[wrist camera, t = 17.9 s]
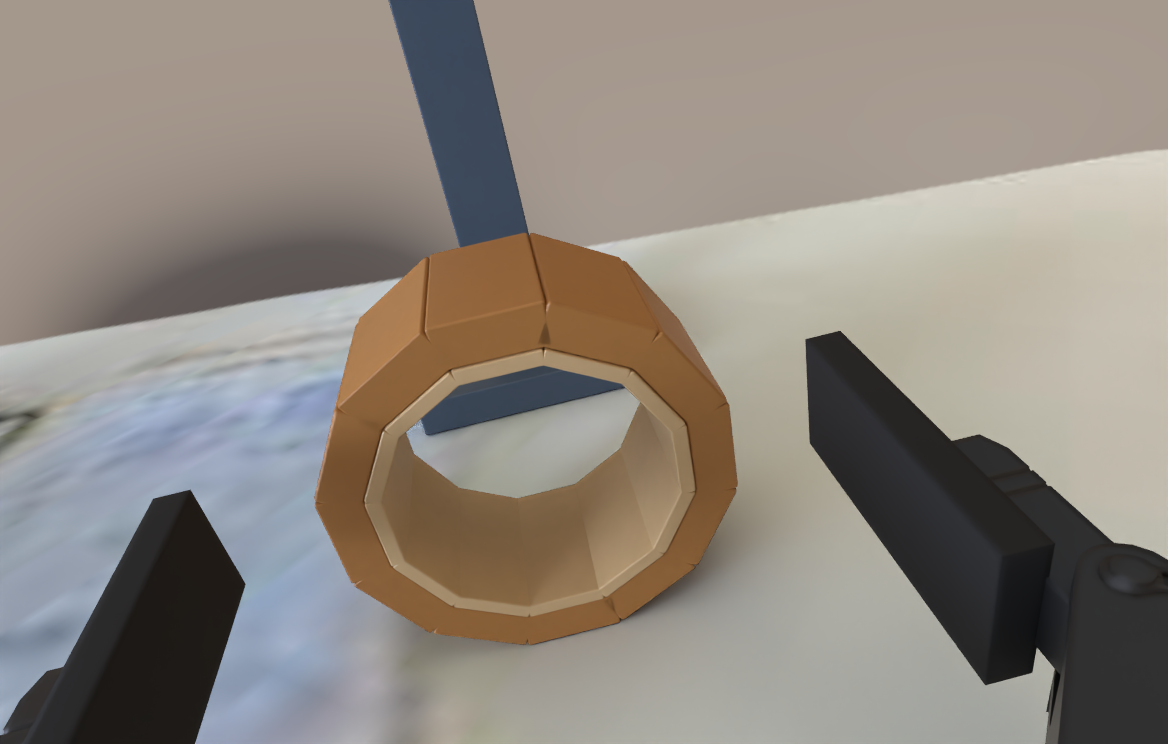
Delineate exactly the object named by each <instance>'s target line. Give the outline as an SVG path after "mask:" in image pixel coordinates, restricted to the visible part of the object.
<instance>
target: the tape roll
mask: <svg viewBox="0 0 1168 744" xmlns="http://www.w3.org/2000/svg"><path fill="white" fill-rule="evenodd" d="M539 366H547V367H552V368H556V369H560V370H565V371H569V372H573V373H577V374H582V375H586V376H590V377H595V378H599V379H603V380H607V381H612V382H616V383H620V384H622V385H623V386H624V387H625V388H626V389H628V390H629V391H630V392H631V393H632V394H633V395H634V396H635V397H636V398H637V399H638V400H639V401H640V404H639V406H638V408H637V411H636V413H635V415H634V418H633V420H632V422H631V425H630V427H629V429H628V432H627V434H626V436H625V439H624V441H623V443H622V446H621V448H620V449H619V450H618V451H617V452H615V453H614V454H613V455H611V456H610V457H609V458H608V459H606V460H605V461H604V462H603V463H601V464H600V465H599V466H598V467H596V468H595V469H594V470H593V471H591V472H590V473H589V474H587V475H586V476H585V477H584V478H582V479H581V480H580V481H579V482H577V483H576V484H574V485H570V486H566V487H562V488H558V489H554V490H550V491H546V492H542V493H538V494H534V495H530V496H525V497H521V498H512V497H506V496H501V495H495V494H490V493H484V492H478V491H473V490H467V489H462V488H458V487H457V486H456V485H454V484H453V483H452V482H450V481H449V480H448V479H446V478H445V477H444V476H442V475H441V474H440V473H439V472H437V471H436V470H435V469H433V468H432V467H431V466H429V465H428V464H427V463H425V462H424V461H423V460H421V459H420V458H419V457H417V456H416V455H415V454H414V453H413V450H412V447H411V445H410V442H409V439H408V437H407V434H406V431H408V430H409V429H410V428H411V427H412V426H413V425H415V424H416V423H417V422H418V421H419V420H420V419H421V418H423V417H424V416H425V415H426V414H427V413H428V412H429V411H431V410H432V409H433V408H434V407H435V406H436V405H438V404H439V403H440V402H441V401H442V400H443V399H444V398H446V397H447V396H448V395H449V394H450V393H451V392H452V391H454V390H455V389H456V388H457V387H458V386H460V385H464V384H468V383H472V382H476V381H481V380H485V379H489V378H493V377H497V376H502V375H506V374H510V373H514V372H518V371H522V370H527V369H531V368H535V367H539ZM737 484H738V483H737V473H736V464H735V455H734V445H733V436H732V427H731V417H730V408H729V404H728V402H727V400H726V397H725V395H724V394H723V392H722V390H721V389H720V387H719V385H718V384H717V382H716V380H715V379H714V377H713V375H712V374H711V372H710V370H709V369H708V367H707V365H706V364H705V362H704V361H703V359H702V357H701V356H700V354H699V352H698V351H697V349H696V347H695V346H694V344H693V342H692V341H691V339H690V337H689V336H688V334H687V332H686V331H685V329H684V327H683V326H682V324H681V322H680V321H679V319H678V318H677V317H676V316H675V315H674V314H673V313H672V312H671V311H670V309H669V308H668V307H667V306H666V305H665V304H664V303H663V302H662V301H661V300H660V298H659V297H658V296H657V295H656V294H655V293H654V292H653V291H652V290H651V289H650V288H649V286H648V285H647V284H646V283H645V282H644V281H643V280H642V279H641V278H640V277H639V275H638V274H637V273H636V272H635V271H634V270H633V269H632V268H631V267H630V266H629V264H628V263H627V262H625V261H621V259H620V258H619V257H615V256H612V255H608V254H605V253H601V252H598V251H594V250H591V249H587V248H584V247H580V246H577V245H573V244H570V243H566V242H562V241H559V240H555V239H552V238H548V237H545V236H541V235H538V234H534V233H531V234H530V235H529V237H528V235H527V233H521V234H516V235H512V236H508V237H504V238H499V239H495V240H491V241H486V242H482V243H478V244H474V245H469V246H465V247H461V248H456V249H452V250H448V251H444V252H439V253H435V254H432V255H430V259H429V258H428V257H425V258H424V259H423V260H422V261H421V262H420V263H419V264H418V265H416V266H415V267H414V268H413V269H412V270H411V271H410V272H409V273H408V274H407V275H406V276H405V277H404V278H402V279H401V280H400V281H399V282H398V283H397V284H396V285H395V286H394V287H393V288H392V289H391V290H390V291H389V292H387V293H386V294H385V295H384V296H383V297H382V298H381V299H380V300H379V301H378V302H377V303H376V304H375V305H374V306H372V307H371V308H370V309H369V310H368V311H367V312H366V313H365V314H364V315H363V316H362V317H361V318H360V319H359V322H358V324H357V325H356V327H355V331H354V335H353V339H352V343H351V346H350V350H349V354H348V358H347V362H346V366H345V370H344V374H343V378H342V382H341V386H340V390H339V394H338V398H337V402H336V405H335V409H334V414H333V418H332V422H331V427H330V431H329V435H328V440H327V444H326V449H325V453H324V457H323V462H322V466H321V470H320V475H319V479H318V484H317V488H316V492H315V497H314V499H315V501H316V502H315V508H316V510H317V512H318V514H319V516H320V518H321V520H322V522H323V524H324V526H325V529H326V531H327V533H328V535H329V537H330V539H331V541H332V543H333V545H334V547H335V549H336V551H337V553H338V556H339V558H340V560H341V562H342V564H343V566H344V568H345V570H346V572H347V574H348V576H349V578H350V580H351V582H352V583H355V584H354V585H355V587H357V588H358V589H360V590H362V591H363V592H365V593H366V594H368V595H370V596H371V597H373V598H374V599H376V600H378V601H379V602H381V603H383V604H384V605H386V606H387V607H389V608H391V609H392V610H394V611H395V612H397V613H399V614H400V615H402V616H404V617H405V618H407V619H408V620H410V621H412V622H413V623H415V624H416V625H418V626H420V627H421V628H423V629H425V630H426V631H428V632H432V631H433V630H434V633H435V634H441V635H449V636H457V637H466V638H474V639H482V640H490V641H498V642H506V643H515V644H523V645H524V644H526V643H527V640H528V643H529V645H532V644H536V643H540V642H544V641H548V640H552V639H556V638H560V637H564V636H568V635H571V634H575V633H579V632H583V631H587V630H591V629H595V628H599V627H603V626H607V625H611V624H615V623H619V622H620V618H621V619H625V618H627V617H628V616H629V615H631V614H632V613H634V612H635V611H636V610H638V609H639V608H640V607H642V606H643V605H645V604H646V603H647V602H649V601H650V600H652V599H653V598H654V597H656V596H657V595H658V594H660V593H661V592H663V591H664V590H665V589H667V588H668V587H669V586H671V585H672V584H674V583H675V582H676V581H678V580H679V579H680V578H682V577H683V576H685V575H686V574H687V573H689V572H690V571H692V570H693V569H694V568H695V566H694V564H695V565H697V564H699V562H700V560H701V558H702V556H703V554H704V552H705V551H706V549H707V547H708V545H709V543H710V541H711V539H712V537H713V535H714V533H715V531H716V530H717V528H718V526H719V524H720V522H721V520H722V518H723V516H724V514H725V512H726V511H727V509H728V507H729V505H730V503H731V501H732V499H733V497H734V495H735V493H736V487H737ZM619 617H620V618H619Z"/></svg>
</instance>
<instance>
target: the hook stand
mask: <svg viewBox="0 0 1168 744" xmlns="http://www.w3.org/2000/svg"><path fill="white" fill-rule="evenodd" d="M389 4H390V8H391V11H392V14H393V18H394V21H395V25H396V28H397V32H398V35H399V39H400V42H401V46H402V49H403V52H404V56H405V59H406V63H407V66H408V70H409V73H410V77H411V80H412V84H413V87H414V91H415V94H416V97H417V101H418V104H419V107H420V111H421V115H422V118H423V122H424V125H425V128H426V132H427V135H428V139H429V142H430V146H431V149H432V153H433V156H434V160H435V163H436V167H437V170H438V173H439V177H440V180H441V184H442V187H443V191H444V194H445V198H446V201H447V205H448V208H449V211H450V215H451V218H452V222H453V225H454V229H455V232H456V235H457V239H458V243H459V246H460V248H461V247H465V246H469V245H474V244H478V243H482V242H486V241H491V240H495V239H499V238H504V237H508V236H512V235H516V234H521V233H527V235H528V237H529V233H528V229H527V224H526V220H525V216H524V212H523V208H522V203H521V199H520V195H519V191H518V186H517V182H516V178H515V174H514V170H513V165H512V161H511V157H510V153H509V149H508V144H507V140H506V136H505V132H504V128H503V123H502V119H501V116H500V111H499V106H498V102H497V98H496V94H495V90H494V85H493V81H492V77H491V73H490V69H489V64H488V60H487V56H486V52H485V48H484V43H483V39H482V35H481V31H480V27H479V22H478V18H477V14H476V10H475V5H474V1H473V0H389ZM623 387H624V386H623V385H622V384H620V383H616V382H612V381H607V380H603V379H599V378H595V377H590V376H586V375H582V374H577V373H573V372H569V371H565V370H560V369H556V368H552V367H547V366H539V367H535V368H531V369H527V370H522V371H518V372H514V373H510V374H506V375H502V376H497V377H493V378H489V379H485V380H481V381H476V382H472V383H468V384H464V385H460V386H458V387H457V388H456V389H455V390H454V391H452V392H451V393H450V394H449V395H448V396H447V397H446V398H444V399H443V400H442V401H441V402H440V403H439V404H438V405H436V406H435V407H434V408H433V409H432V410H431V411H429V412H428V413H427V414H426V415H425V416H424V417H423V418H421V421H422V424H423V427H424V430H425V432H426V434H427V435H430V434H434V433H438V432H442V431H446V430H450V429H454V428H459V427H463V426H467V425H471V424H475V423H479V422H483V421H487V420H491V419H495V418H500V417H504V416H508V415H512V414H516V413H520V412H524V411H528V410H532V409H536V408H541V407H545V406H549V405H553V404H557V403H561V402H565V401H569V400H573V399H578V398H582V397H586V396H590V395H594V394H598V393H602V392H606V391H610V390H614V389H619V388H623Z"/></svg>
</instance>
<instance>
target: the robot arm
mask: <svg viewBox="0 0 1168 744" xmlns="http://www.w3.org/2000/svg"><path fill="white" fill-rule="evenodd" d="M805 341H806V364H807V388H808V411H809V434H810V444H811V445H812V447H813V448H814V449H815V451H816V452H817V454H818V455H819V456H820V458H821V459H822V460H823V462H824V463H825V465H826V466H827V467H828V469H829V470H830V471H831V473H832V474H833V476H834V477H835V478H836V480H837V481H838V483H839V484H840V485H841V487H842V488H843V489H844V491H845V492H846V494H847V495H848V496H849V498H850V499H851V500H852V502H853V503H854V505H855V506H856V507H857V509H858V510H859V512H860V513H861V514H862V516H863V517H864V518H865V520H866V521H867V523H868V524H869V525H870V527H871V528H872V529H873V531H874V532H875V534H876V535H877V536H878V538H879V539H880V541H881V542H882V543H883V545H884V546H885V547H886V549H887V550H888V552H889V553H890V554H891V556H892V557H893V558H894V560H895V561H896V563H897V564H898V565H899V567H900V568H901V570H902V571H903V572H904V574H905V575H906V576H907V578H908V579H909V581H910V582H911V583H912V585H913V586H914V587H915V589H916V590H917V592H918V593H919V594H920V596H921V597H922V599H923V600H924V601H925V603H926V604H927V605H928V607H929V608H930V610H931V611H932V612H933V614H934V615H935V616H936V618H937V619H938V621H939V622H940V623H941V625H942V626H943V628H944V629H945V630H946V632H947V633H948V634H949V636H950V637H951V639H952V640H953V641H954V643H955V644H956V645H957V647H958V648H959V650H960V651H961V652H962V654H963V655H964V657H965V658H966V659H967V661H968V662H969V663H970V665H971V666H972V668H973V669H974V670H975V672H976V673H977V674H978V676H979V677H980V679H981V680H982V681H983V683H984V684H985V685H988V684H992V683H996V682H999V681H1003V680H1007V679H1011V678H1014V677H1018V676H1022V675H1026V674H1029V673H1032V671H1033V665H1034V660H1035V654H1036V648H1038V649H1039V650H1040V651H1041V653H1042V654H1043V655H1044V656H1045V657H1046V659H1047V660H1048V661H1049V662H1050V663H1051V664H1052V666H1053V667H1054V668H1055V671H1054V676H1053V681H1052V686H1051V691H1050V696H1049V701H1048V706H1047V711H1046V712H1049V716H1048V725H1047V734H1046V743H1045V744H1168V560H1167V559H1165V558H1164V557H1162V556H1160V555H1159V554H1157V553H1155V552H1153V551H1150V550H1147V549H1144V548H1141V547H1137V546H1134V545H1129V544H1118V543H1114V542H1112V541H1111V540H1110V539H1109V538H1108V537H1107V536H1106V535H1104V534H1103V533H1102V532H1101V531H1100V530H1099V529H1098V528H1097V527H1096V526H1094V525H1093V524H1092V523H1091V522H1090V521H1089V520H1088V519H1087V518H1086V517H1084V516H1083V515H1082V514H1081V513H1080V512H1079V511H1078V510H1077V509H1076V508H1074V507H1073V506H1072V505H1071V504H1070V503H1069V502H1068V501H1067V500H1066V499H1064V498H1063V497H1062V496H1061V495H1060V494H1059V493H1058V492H1057V491H1056V490H1054V489H1053V488H1052V487H1051V486H1047V485H1046V481H1044V480H1043V479H1042V478H1041V477H1040V476H1039V475H1038V474H1037V473H1036V472H1034V471H1033V470H1032V471H1030V469H1029V466H1028V465H1027V464H1026V463H1024V462H1023V461H1022V460H1021V459H1020V458H1019V457H1018V456H1017V455H1016V454H1014V453H1013V452H1012V451H1011V450H1010V449H1009V448H1007V447H1005V446H1003V445H1001V444H999V443H997V442H994V441H992V440H990V439H988V438H986V437H984V436H982V435H975V436H971V437H967V438H963V439H959V440H955V441H951V440H950V439H949V438H948V437H947V436H946V435H945V434H944V433H943V432H942V431H941V430H940V429H939V428H938V427H937V426H936V425H935V424H934V423H933V422H932V421H931V420H930V419H929V418H928V417H927V416H926V415H925V414H924V413H923V412H922V411H921V410H920V409H919V408H918V407H917V406H916V405H915V404H914V403H913V402H912V401H911V400H910V399H909V398H908V397H907V396H906V395H904V394H903V393H902V392H901V391H900V390H899V389H898V388H897V387H896V386H895V385H894V384H893V383H892V382H891V381H890V380H889V379H888V378H887V377H886V376H885V375H884V374H883V373H882V372H881V371H880V370H879V369H878V368H877V367H876V366H875V365H874V364H873V363H872V362H871V361H870V360H869V359H868V358H867V357H866V356H865V355H864V354H863V353H862V352H861V351H860V350H859V349H858V348H857V347H856V346H855V345H854V344H853V343H852V342H851V341H850V340H849V339H848V338H847V337H846V336H845V335H844V334H843V333H842V332H841V331H838V332H834V333H829V334H825V335H821V336H817V337H813V338H809V339H805ZM245 585H246V584H245V582H244V581H243V579H242V577H241V575H240V574H239V572H238V570H237V569H236V567H235V565H234V563H233V562H232V560H231V558H230V557H229V555H228V553H227V552H226V550H225V548H224V546H223V545H222V543H221V541H220V540H219V538H218V536H217V534H216V533H215V531H214V529H213V528H212V526H211V524H210V522H209V521H208V519H207V517H206V516H205V514H204V512H203V510H202V509H201V507H200V505H199V504H198V502H197V500H196V498H195V497H194V495H193V493H192V492H191V490H188V491H183V492H179V493H175V494H171V495H167V496H163V497H159V498H155V499H153V500H152V502H151V504H150V506H149V508H148V510H147V512H146V513H145V515H144V517H143V519H142V521H141V523H140V525H139V527H138V528H137V530H136V532H135V534H134V536H133V538H132V540H131V542H130V543H129V545H128V547H127V549H126V551H125V553H124V555H123V557H122V558H121V560H120V562H119V564H118V566H117V568H116V570H115V572H114V573H113V575H112V577H111V579H110V581H109V583H108V585H107V587H106V588H105V590H104V592H103V594H102V596H101V598H100V600H99V602H98V603H97V605H96V607H95V609H94V611H93V613H92V615H91V617H90V618H89V620H88V622H87V624H86V626H85V628H84V630H83V631H82V633H81V635H80V637H79V639H78V641H77V643H76V645H75V646H74V648H73V650H72V652H71V654H70V656H69V658H68V660H67V661H66V663H65V665H64V667H62V668H58V669H54V670H50V671H47V672H46V673H45V674H44V675H43V676H42V677H41V678H40V679H39V680H38V681H37V682H36V683H35V685H34V686H33V687H32V688H31V689H30V690H29V691H28V692H27V693H26V694H25V695H24V696H23V698H22V699H21V700H20V701H19V703H18V705H17V706H16V708H15V710H14V712H13V714H12V715H11V717H10V719H9V721H8V722H7V724H6V726H5V728H4V729H3V730H4V735H0V744H195V742H196V739H197V735H198V732H199V729H200V726H201V723H202V720H203V717H204V713H205V710H206V707H207V704H208V701H209V698H210V695H211V691H212V688H213V685H214V682H215V679H216V676H217V673H218V669H219V666H220V663H221V660H222V657H223V654H224V651H225V647H226V644H227V641H228V638H229V635H230V632H231V629H232V625H233V622H234V619H235V616H236V613H237V610H238V607H239V603H240V600H241V597H242V594H243V591H244V588H245Z"/></svg>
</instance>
